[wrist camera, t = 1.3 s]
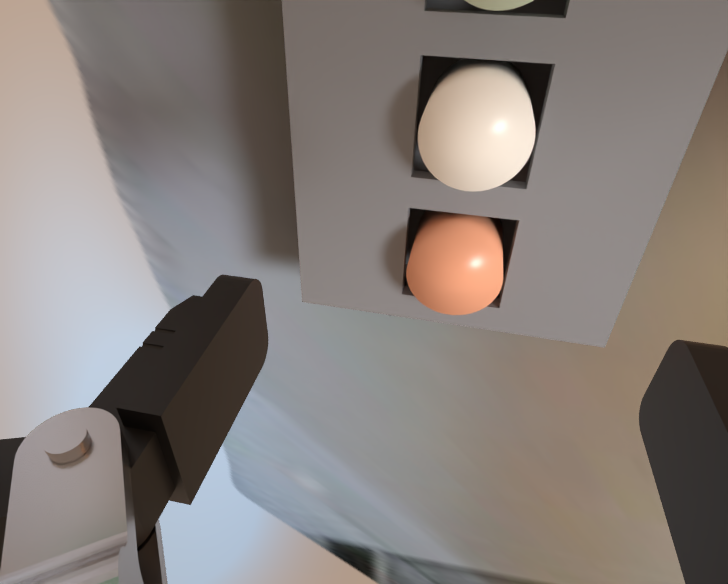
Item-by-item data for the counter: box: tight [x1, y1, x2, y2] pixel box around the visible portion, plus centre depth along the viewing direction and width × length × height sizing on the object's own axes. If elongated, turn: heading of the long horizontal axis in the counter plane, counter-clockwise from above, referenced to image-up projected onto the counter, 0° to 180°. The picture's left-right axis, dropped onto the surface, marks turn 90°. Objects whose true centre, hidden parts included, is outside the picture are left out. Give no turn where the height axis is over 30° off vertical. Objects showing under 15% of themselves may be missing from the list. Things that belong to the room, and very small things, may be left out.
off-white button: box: [418, 58, 535, 192], centre depth 21 cm, size 4×4×4 cm
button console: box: [282, 0, 728, 347], centre depth 22 cm, size 16×21×5 cm
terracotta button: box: [406, 210, 503, 315], centre depth 25 cm, size 4×4×4 cm
